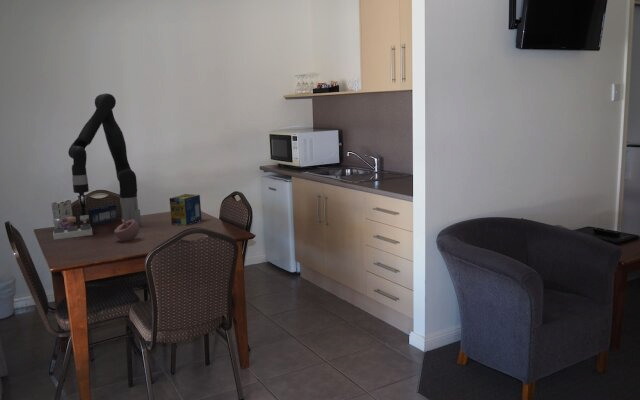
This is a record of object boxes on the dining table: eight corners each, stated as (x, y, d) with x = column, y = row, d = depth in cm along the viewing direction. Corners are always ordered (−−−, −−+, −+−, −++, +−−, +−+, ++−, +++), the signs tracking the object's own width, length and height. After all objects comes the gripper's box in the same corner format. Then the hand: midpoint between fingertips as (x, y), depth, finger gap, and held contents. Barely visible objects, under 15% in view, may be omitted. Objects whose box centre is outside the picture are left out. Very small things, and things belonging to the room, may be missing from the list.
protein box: (171, 225, 318) (168, 198, 315) (187, 219, 332) (185, 193, 329) (186, 225, 314) (184, 198, 311) (202, 220, 328) (200, 194, 325)
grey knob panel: (91, 232, 306) (90, 223, 305) (92, 234, 300) (91, 225, 299) (53, 237, 298) (52, 228, 298) (53, 239, 292) (52, 230, 291)
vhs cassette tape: (92, 226, 323) (90, 209, 322) (89, 226, 325) (87, 209, 323) (118, 220, 338) (116, 204, 337) (115, 220, 340) (113, 204, 338)
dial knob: (76, 224, 301) (75, 215, 300) (76, 225, 297) (75, 217, 296) (67, 225, 299) (66, 216, 298) (67, 226, 295) (66, 218, 295)
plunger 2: (89, 222, 304) (88, 214, 303) (89, 224, 300) (88, 216, 299) (80, 223, 302) (79, 215, 301) (80, 225, 298) (79, 217, 297)
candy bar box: (67, 227, 325) (63, 199, 322) (74, 227, 324) (71, 199, 321) (54, 231, 314) (50, 202, 311) (62, 231, 313) (58, 202, 310)
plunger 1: (63, 225, 298) (62, 217, 298) (63, 227, 294) (62, 219, 294) (54, 226, 297) (53, 218, 296) (54, 228, 293) (53, 220, 292)
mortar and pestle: (112, 240, 283) (109, 218, 282) (135, 236, 291) (133, 215, 289) (119, 244, 274) (117, 222, 272) (143, 240, 281) (141, 218, 279)
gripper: (88, 184, 293) (91, 216, 296) (87, 181, 305) (90, 212, 308) (73, 185, 290) (76, 218, 293) (72, 182, 302) (75, 214, 304)
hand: (83, 215), depth 300 cm, fingers closed
